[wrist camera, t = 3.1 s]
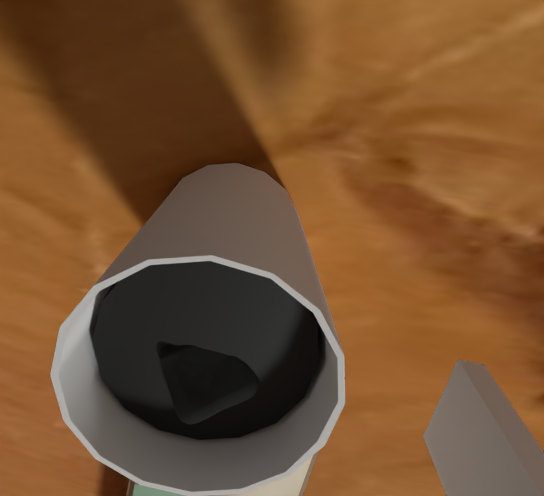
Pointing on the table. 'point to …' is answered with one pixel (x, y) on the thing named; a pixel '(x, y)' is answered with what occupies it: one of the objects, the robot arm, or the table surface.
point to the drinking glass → (205, 344)
